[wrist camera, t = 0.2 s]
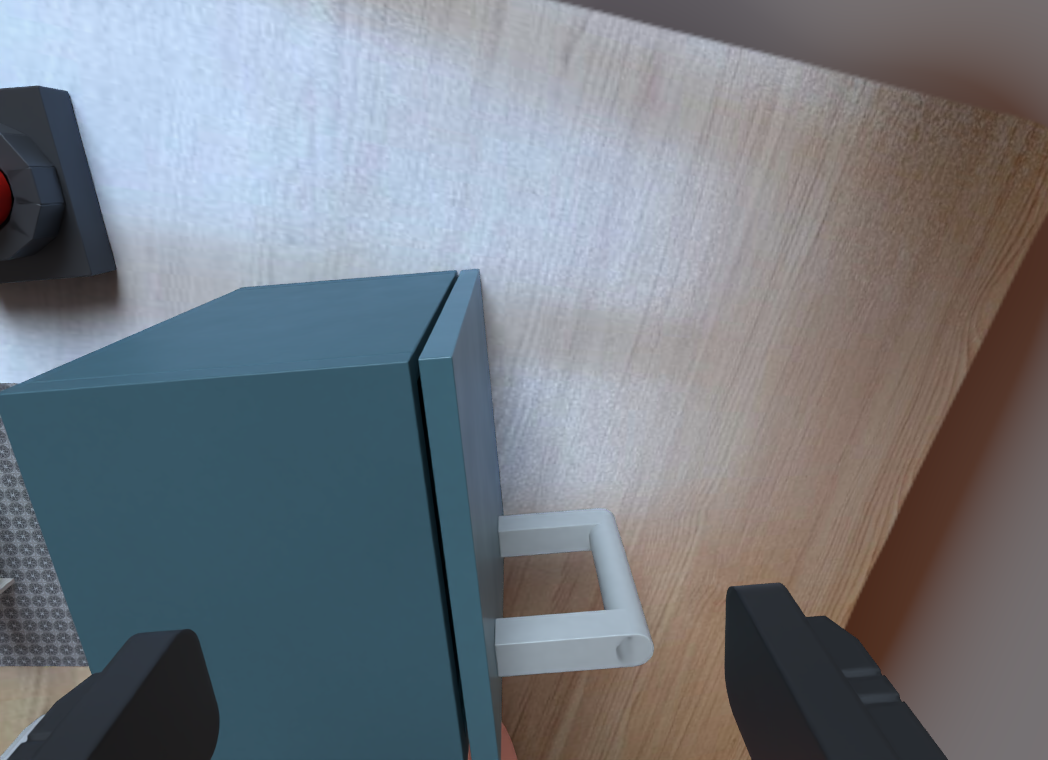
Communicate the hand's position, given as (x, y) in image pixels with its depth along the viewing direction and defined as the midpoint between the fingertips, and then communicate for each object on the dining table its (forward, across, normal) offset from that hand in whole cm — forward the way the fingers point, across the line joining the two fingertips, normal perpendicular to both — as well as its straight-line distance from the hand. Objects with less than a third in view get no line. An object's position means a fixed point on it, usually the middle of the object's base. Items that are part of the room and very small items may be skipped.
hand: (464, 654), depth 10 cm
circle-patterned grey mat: (+28, +33, +12) cm, 45 cm away
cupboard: (+28, +8, +6) cm, 29 cm away
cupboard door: (+28, -2, +6) cm, 28 cm away
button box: (+28, +24, -8) cm, 38 cm away
